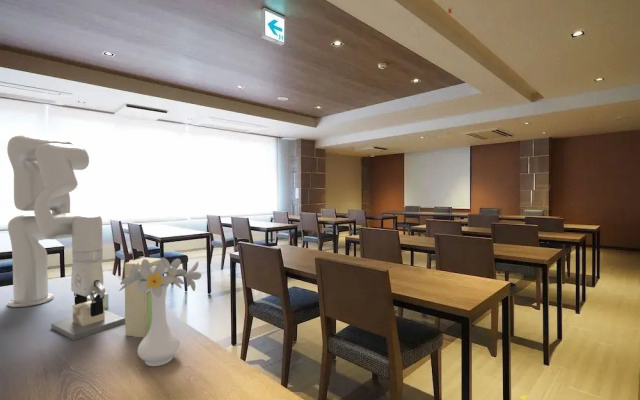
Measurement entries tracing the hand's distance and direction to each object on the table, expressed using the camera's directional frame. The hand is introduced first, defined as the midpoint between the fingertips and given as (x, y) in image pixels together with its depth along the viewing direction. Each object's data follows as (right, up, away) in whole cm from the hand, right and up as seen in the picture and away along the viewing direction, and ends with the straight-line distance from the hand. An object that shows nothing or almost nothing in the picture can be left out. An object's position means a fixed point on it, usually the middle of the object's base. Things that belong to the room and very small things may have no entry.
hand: (88, 311), depth 102 cm
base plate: (0, -4, 0) cm, 4 cm away
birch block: (0, -3, 0) cm, 3 cm away
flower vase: (+31, -6, -18) cm, 36 cm away
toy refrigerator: (+19, -5, -3) cm, 20 cm away
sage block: (-8, -4, +14) cm, 17 cm away
